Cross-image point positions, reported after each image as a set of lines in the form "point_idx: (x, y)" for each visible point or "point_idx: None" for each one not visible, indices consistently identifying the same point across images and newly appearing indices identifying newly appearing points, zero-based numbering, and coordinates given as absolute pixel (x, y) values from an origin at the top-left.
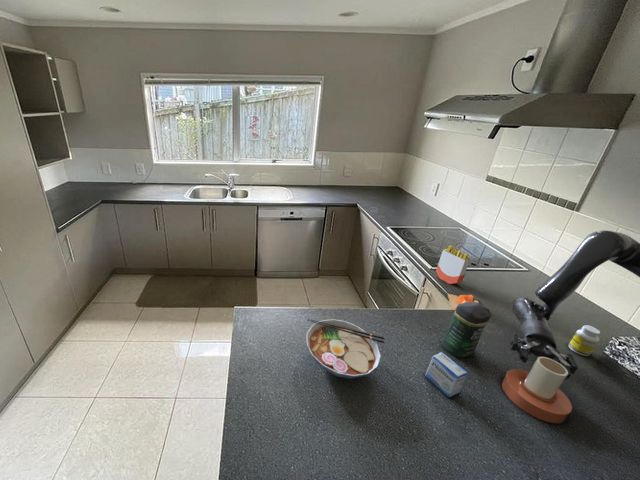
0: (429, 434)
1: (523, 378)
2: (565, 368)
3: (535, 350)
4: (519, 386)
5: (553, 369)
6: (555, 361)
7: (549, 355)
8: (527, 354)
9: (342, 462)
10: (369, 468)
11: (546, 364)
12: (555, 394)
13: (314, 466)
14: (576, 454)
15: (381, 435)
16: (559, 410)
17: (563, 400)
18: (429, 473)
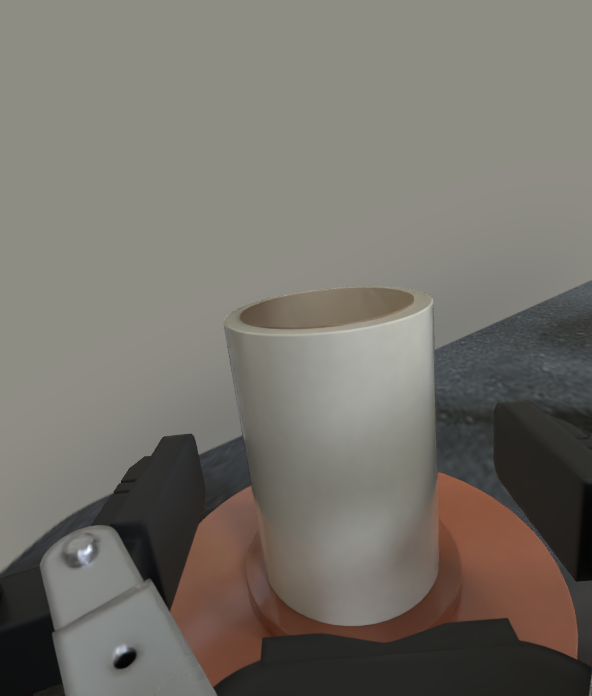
0: (538, 347)
1: (451, 576)
2: (228, 324)
3: (520, 646)
4: (447, 519)
5: (322, 295)
6: (290, 331)
7: (272, 666)
8: (532, 427)
9: (572, 296)
10: (545, 304)
11: (364, 297)
12: (246, 573)
13: (585, 287)
14: (231, 471)
15: (584, 319)
16: None
17: (202, 582)
18: (488, 326)
